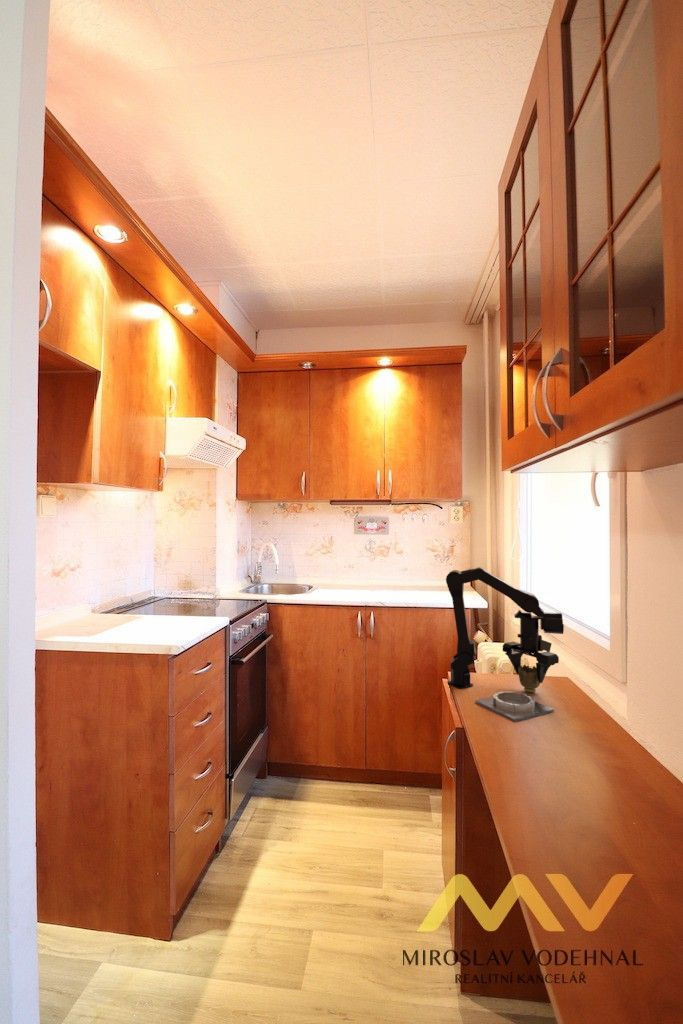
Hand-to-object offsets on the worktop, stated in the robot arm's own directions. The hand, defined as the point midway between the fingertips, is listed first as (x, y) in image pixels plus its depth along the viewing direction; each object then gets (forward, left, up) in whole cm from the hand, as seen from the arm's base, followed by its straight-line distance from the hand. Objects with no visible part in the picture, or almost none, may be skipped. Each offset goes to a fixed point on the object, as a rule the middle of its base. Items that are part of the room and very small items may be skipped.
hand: (529, 678), depth 159 cm
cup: (0, 0, -5) cm, 5 cm away
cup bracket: (+7, -15, -4) cm, 17 cm away
